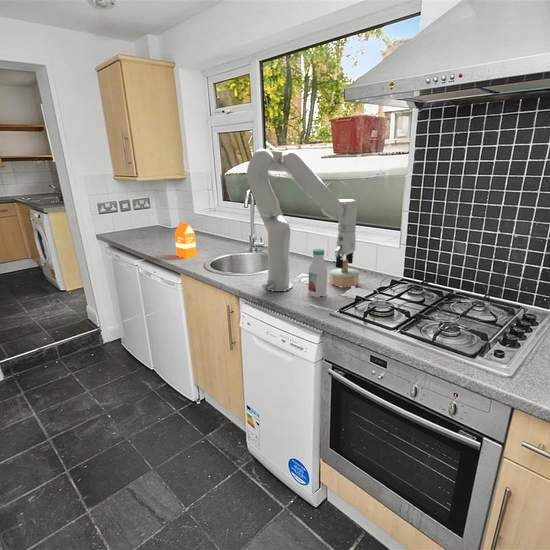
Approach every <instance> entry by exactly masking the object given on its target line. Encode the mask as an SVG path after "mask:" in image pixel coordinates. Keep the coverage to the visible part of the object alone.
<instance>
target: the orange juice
mask: <svg viewBox="0 0 550 550" xmlns="http://www.w3.org/2000/svg"><path fill="white" fill-rule="evenodd" d="M174 235H175V236H174V238H175V248H176V250H175V251H176V257H177V256H179V258H181V257H183V258H182V259H185V258H188V259H190V258H189V257H191V258H194V257H193V256H195V257H197V248H196V247H197V246H196V235H195V231H194V229H193V228H192V227H191V225H190V223H186V222H179V223H178V225H177V227H176V229H175V232H174Z"/></svg>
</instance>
